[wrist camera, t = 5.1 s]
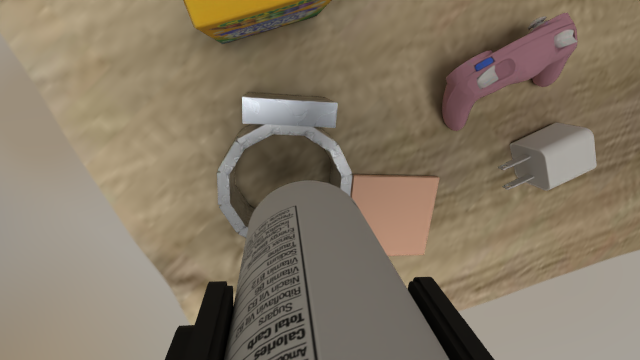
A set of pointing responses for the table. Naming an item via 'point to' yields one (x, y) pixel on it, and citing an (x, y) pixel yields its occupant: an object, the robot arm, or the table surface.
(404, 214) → the coaster
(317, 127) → the ring holder
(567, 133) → the usb wall charger
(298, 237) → the energy drink can
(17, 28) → the table surface
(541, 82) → the video game controller
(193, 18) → the crayon box
